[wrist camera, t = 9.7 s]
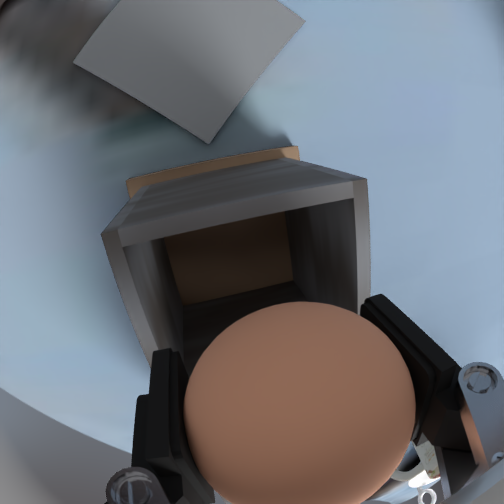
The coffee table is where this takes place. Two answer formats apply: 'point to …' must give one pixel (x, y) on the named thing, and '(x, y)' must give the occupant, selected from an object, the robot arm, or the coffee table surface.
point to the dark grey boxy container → (236, 245)
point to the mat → (189, 54)
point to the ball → (299, 407)
